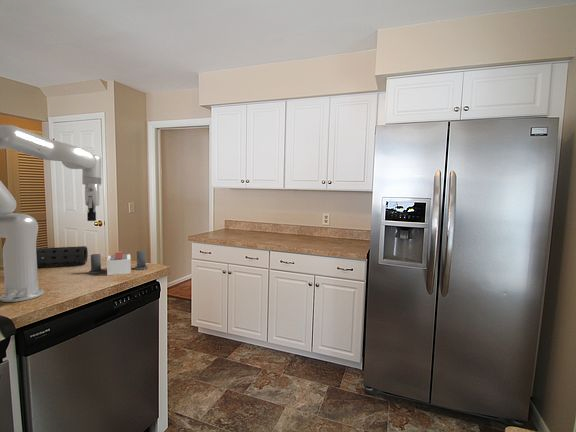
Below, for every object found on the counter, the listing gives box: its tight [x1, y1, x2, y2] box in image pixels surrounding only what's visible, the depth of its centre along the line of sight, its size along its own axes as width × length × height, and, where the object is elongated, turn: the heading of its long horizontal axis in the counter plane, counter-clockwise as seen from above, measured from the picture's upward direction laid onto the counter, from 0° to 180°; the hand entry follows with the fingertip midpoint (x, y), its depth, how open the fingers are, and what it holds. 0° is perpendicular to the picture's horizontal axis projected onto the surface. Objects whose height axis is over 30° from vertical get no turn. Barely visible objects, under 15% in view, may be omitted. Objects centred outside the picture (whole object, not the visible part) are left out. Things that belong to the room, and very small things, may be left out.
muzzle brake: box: [36, 245, 89, 269], centre depth 159 cm, size 10×28×10 cm, turn 111°
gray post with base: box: [88, 253, 104, 275], centre depth 149 cm, size 6×6×9 cm
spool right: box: [134, 250, 149, 271], centre depth 158 cm, size 6×6×9 cm
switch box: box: [106, 253, 132, 276], centre depth 153 cm, size 12×10×7 cm
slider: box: [114, 251, 123, 259], centre depth 148 cm, size 2×3×3 cm
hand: (91, 220), depth 144 cm, fingers closed
